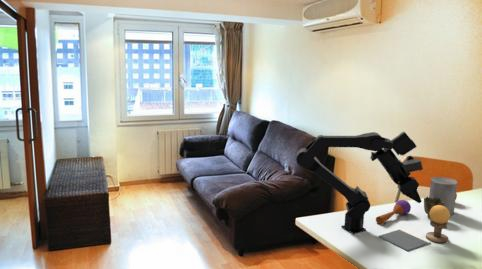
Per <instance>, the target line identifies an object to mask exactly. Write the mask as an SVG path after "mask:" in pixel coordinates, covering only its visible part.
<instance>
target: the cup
mask: <svg viewBox="0 0 482 269" xmlns="http://www.w3.org/2000/svg"><path fill="white" fill-rule="evenodd" d="M444 203H445V202H444V201H443V200H440V198H436V197H434V199H431V198H430V197H429V196H425V197H424V198H423V209H424V210H423V211H424V212H425V214H427V218H428V219H429V220H431V218H430V215H429V212H430V210H431V208H432V207H434V206H436V205H442V206H444Z"/></svg>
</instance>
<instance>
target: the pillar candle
mask: <svg viewBox="0 0 482 269" xmlns="http://www.w3.org/2000/svg"><path fill="white" fill-rule="evenodd" d="M457 187H458V181H457V180H456V179H454V178H450V177H445V176H434V177H431V178H430V186H429V195H428V197H430V198H431V199H434V197H436V198H440V200H443V201H444V202H445V203H444V207H446V208H447V209H448V210H449V212H450V216H452V215H454V213H455V206H456V200H455V198H456V194H457ZM456 199H457V198H456Z"/></svg>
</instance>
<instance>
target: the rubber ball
mask: <svg viewBox="0 0 482 269" xmlns="http://www.w3.org/2000/svg"><path fill="white" fill-rule="evenodd" d="M429 215H430V218H431V219H432V221H434V222H435V223H438V224H444V223H446V222H447V223H448V222H449V220H450V218H451V215H450V212H449V210H448V209H447V208H446V207H444V206H442V205H436V206H434V207H432V208H431V210H430V212H429ZM431 219H430V220H431Z"/></svg>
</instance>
